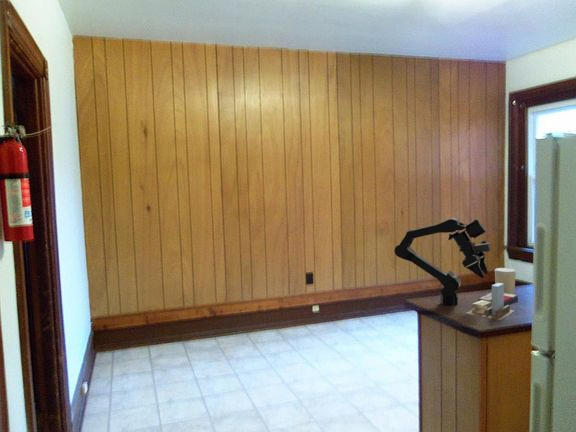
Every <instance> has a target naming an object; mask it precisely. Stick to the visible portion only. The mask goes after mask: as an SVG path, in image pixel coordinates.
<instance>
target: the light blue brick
mask: <svg viewBox="0 0 576 432" xmlns="http://www.w3.org/2000/svg"><path fill="white" fill-rule="evenodd" d="M491 293H492V314H493V315H496V311H498V310H499V309H501V308H503V307H505V306H504V284H503V283H496V284H495V283H494V284H491Z"/></svg>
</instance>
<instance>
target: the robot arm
mask: <svg viewBox="0 0 576 432" xmlns="http://www.w3.org/2000/svg"><path fill="white" fill-rule="evenodd" d="M460 231H461V232H460ZM438 233H439V234H441V233H444V234H446V233H449V234H448V241H451V240H452V239H453V240H454V242H455V243H456V245H457V247H458V248H459V252H460V253H462V255H463V256H464V259H463V260H462V263H461V264H462V266H463V267H464V268H466V269H467V270H469V271H470V272H472V273H474V274H475V275H476V276H478V277H479V278H481V279H484V278H485V275H487V274H489V270H488V267H487V264H486V261H485V260H486V257H487V255H486V254H487V253H486V252H490V251H492V249H491V244H490V242H488V241H487V240H482V241H481V242H480V243H478V244H476V243H475V242H474V241H473V242H472V240H471V239H472V238H473V239H477V238H478V237H480V236H482V235H484V234H486V233H487V230H486V228H485V226H484V224H482V222H480V220H479V219H478V218H475V219H474V220H473V221H471V222H469V223H468V224H466V223H463V222H461V221H460V220H459V219H458V218H456V217H451V218H448V219H446V220H444V221H441V222H439V223H436V224H432V225H428V226H424V227H420V228H416V229H409V230H407V232H406V234H405V235H404V237H403V238H402V240H401V242H400V243H399V244H397V245H396V246H395V247H394V254H395V256H396V257H398V258H400V259H403V260H405V261H408V262H411V263H413V264H414V265H416V266H417V267H418V268H420V269H421V270H423V271H424V272H426V273H427V274H429V275H430V276H432V277H433V278H435V279H436V280H437V281H438V282H439V283H440V284H441V285H442V287H441V288H440V289H439V293H440V294H439V297H440V298H439V299H440V300H439V301H440V305H442V306H445V307H446V306H447V307H451V306H455V305H456V306H457V305H459V304H458V303H459V302H458V301H459V299H458V298H459V296H458V295H457V291H458V290H459V288H460V287H461V283H462V282H461V279H460V277H458V276H459V274H456V273H454V272H453V271H451V270H449V271H448V272H446V271H443V270H442V269H440V268H438V267H437V266H436V265H434V264H433V263H431V262H430V261H428V260H426V259H425V258H423V257H422V256H420V255H419V254H418V253H417V252H416V251H415V250H414V249H413V247H411V245H412V244H413V242H414V239H416V238H421V237H425V236H430V235H434V234H438ZM484 274H485V275H484Z"/></svg>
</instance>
